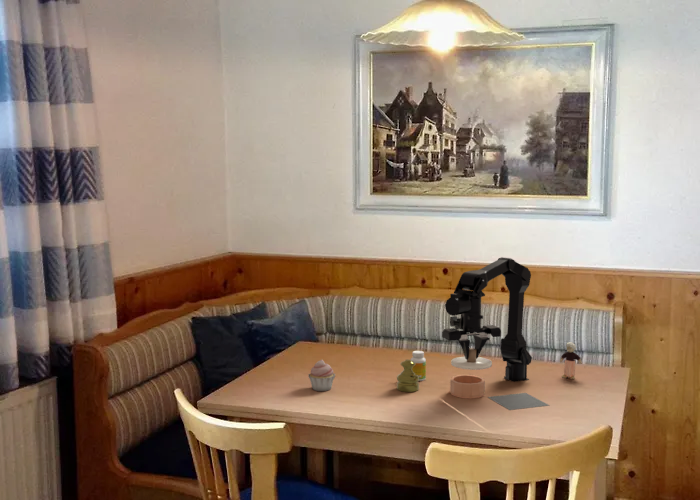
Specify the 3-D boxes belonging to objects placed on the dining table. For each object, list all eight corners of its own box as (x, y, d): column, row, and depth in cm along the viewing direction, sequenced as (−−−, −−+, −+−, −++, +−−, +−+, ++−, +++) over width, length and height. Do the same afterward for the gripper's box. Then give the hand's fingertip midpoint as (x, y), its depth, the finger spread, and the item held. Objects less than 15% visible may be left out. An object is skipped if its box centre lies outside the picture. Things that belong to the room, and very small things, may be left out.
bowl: (474, 388, 262) (474, 373, 261) (490, 397, 251) (490, 382, 251) (444, 391, 258) (445, 376, 258) (459, 401, 248) (460, 385, 247)
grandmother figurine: (558, 378, 274) (559, 342, 272) (559, 375, 277) (560, 340, 276) (580, 380, 271) (581, 344, 269) (582, 377, 274) (583, 342, 273)
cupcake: (341, 388, 262) (341, 359, 261) (321, 394, 256) (321, 364, 254) (322, 383, 269) (321, 354, 268) (302, 389, 262) (301, 359, 261)
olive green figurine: (412, 393, 256) (412, 363, 255) (392, 390, 260) (392, 360, 259) (422, 388, 262) (423, 359, 261) (403, 384, 266) (403, 356, 265)
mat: (525, 394, 255) (525, 392, 255) (549, 406, 242) (549, 405, 242) (487, 398, 251) (487, 396, 250) (509, 411, 237) (509, 410, 237)
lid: (479, 358, 261) (479, 343, 261) (499, 367, 249) (499, 352, 248) (444, 361, 257) (444, 346, 256) (463, 371, 245) (463, 355, 244)
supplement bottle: (424, 381, 270) (425, 354, 269) (409, 380, 271) (409, 353, 270) (426, 377, 275) (426, 350, 274) (411, 376, 276) (411, 349, 275)
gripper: (485, 305, 262) (484, 350, 263) (434, 308, 256) (434, 355, 257) (502, 311, 251) (501, 358, 253) (450, 315, 245) (449, 363, 247)
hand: (471, 358), depth 253 cm, fingers closed on lid, 3 cm apart
